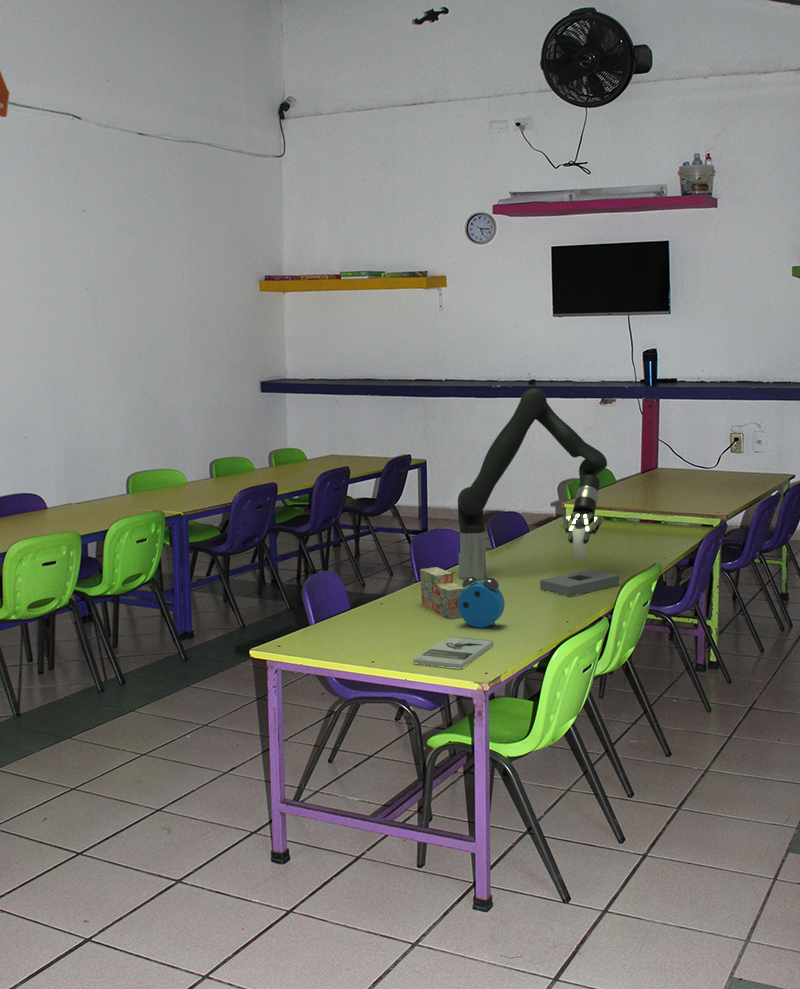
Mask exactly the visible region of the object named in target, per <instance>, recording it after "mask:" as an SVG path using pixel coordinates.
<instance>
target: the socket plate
mask: <svg viewBox="0 0 800 989" xmlns="http://www.w3.org/2000/svg"><path fill="white" fill-rule="evenodd" d="M618 586H620V576H619V575H618V574H614V573H609V572H605V571H599V570H594V569H589V568H588V569H585V570H580V571H575V572H570V573H566V574H563V575H557V576H553V577H549V578H548V577H547V578H544V579H539V587H540V588H539V589H541V590H540V591H542V590H545V591H544V592H546V591H549V592H548V593H550V592H553V593H552V594H555V593H558V594H557V595H559V594H562V595H561V596H563V595H566V596H565V597H567V596H572V597H574V596H573V595H576V594H580V595H582V594H581V593H585V592H588V591H593V590H597V591H599V590H598V589H601V590H604V589H603V588H606V589H609V587H610V588H614V587H618ZM593 592H594V591H593ZM585 594H586V593H585ZM576 596H577V595H576Z"/></svg>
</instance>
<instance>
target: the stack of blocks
mask: <svg viewBox="0 0 800 989" xmlns="http://www.w3.org/2000/svg"><path fill="white" fill-rule="evenodd" d="M419 572H420V574H419V575H420V590H421V605H422V606H424V607H425V608H427V609H429V610H431V611H433V612H435V613H437V614H439V615H440V616H442V617H444V618H446V619H448V620H449V619H456V618H462V617H461V615H460V613H459V610H458V599H459V596H460V594H461V593H462V591H463V590H464V589H465V588H466V587H465V588H463V586H462V585H459V584H457V583H455V582H454V578H453V577H454V575H453V573H452V572H450V571H447V570H446V569H445V570H444V569H442V568H440V567H438V566H436V567H428V568H427V567H425V568H421V569H419Z"/></svg>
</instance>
